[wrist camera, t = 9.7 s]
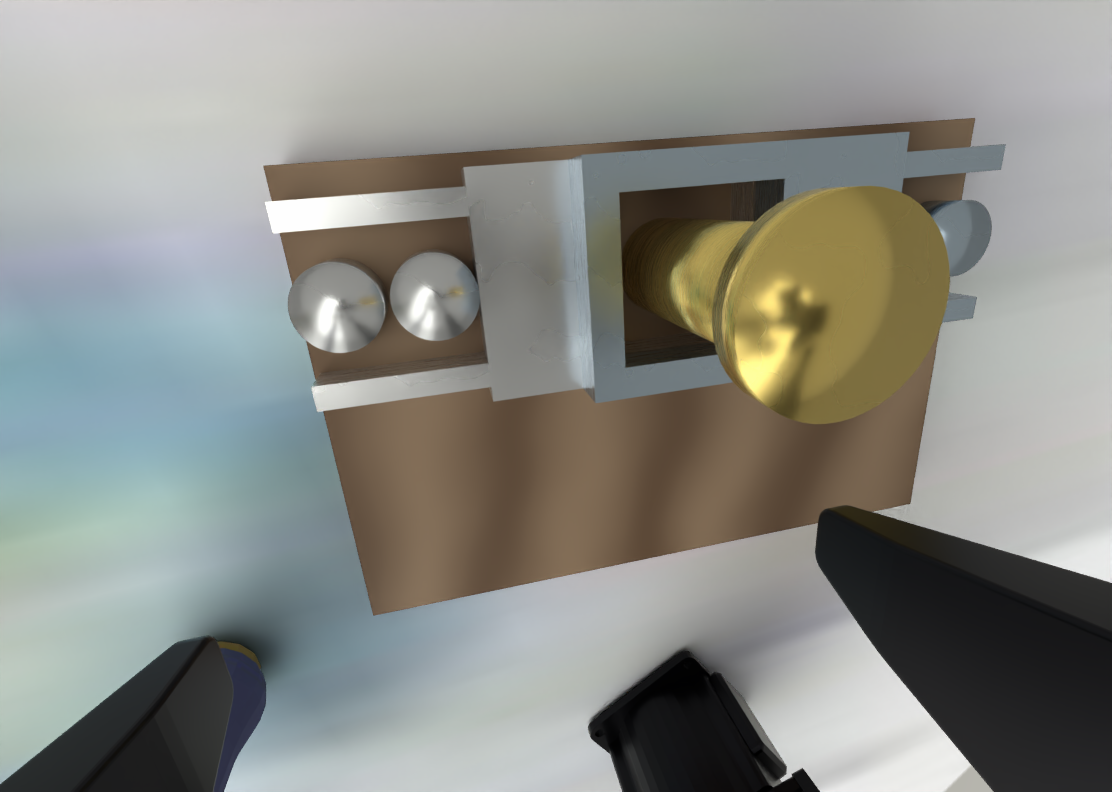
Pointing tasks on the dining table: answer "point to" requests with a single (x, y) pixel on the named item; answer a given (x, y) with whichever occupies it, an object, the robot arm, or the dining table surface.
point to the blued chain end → (777, 178)
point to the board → (578, 413)
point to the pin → (803, 295)
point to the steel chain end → (459, 287)
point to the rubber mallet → (240, 705)
